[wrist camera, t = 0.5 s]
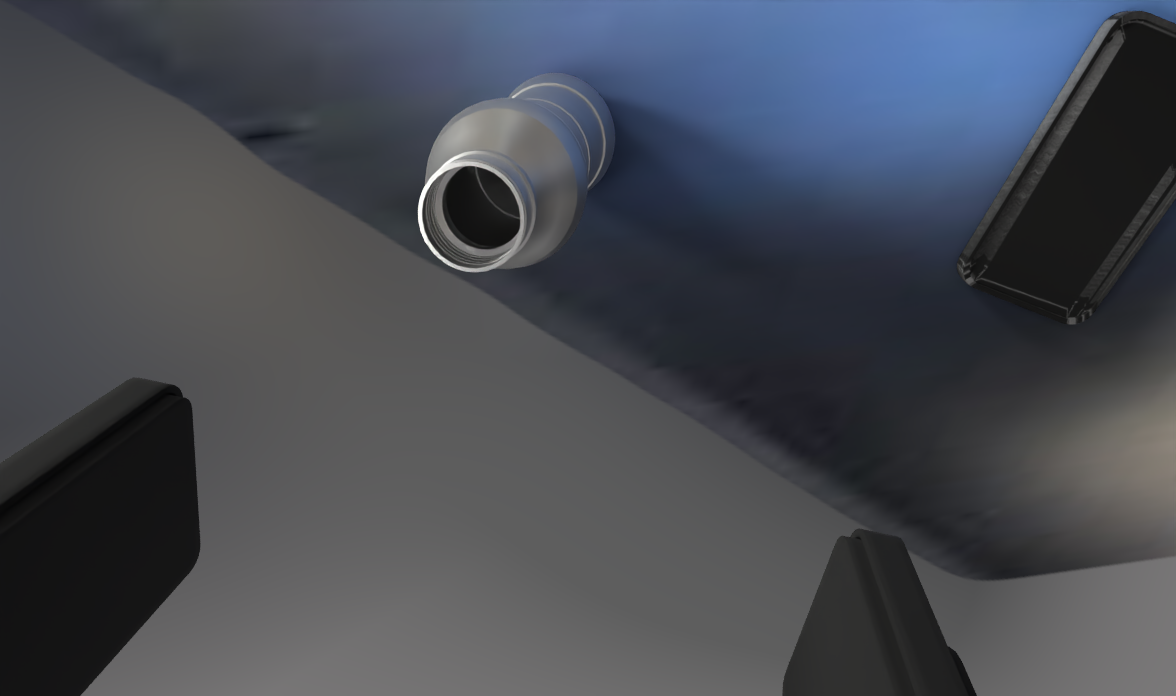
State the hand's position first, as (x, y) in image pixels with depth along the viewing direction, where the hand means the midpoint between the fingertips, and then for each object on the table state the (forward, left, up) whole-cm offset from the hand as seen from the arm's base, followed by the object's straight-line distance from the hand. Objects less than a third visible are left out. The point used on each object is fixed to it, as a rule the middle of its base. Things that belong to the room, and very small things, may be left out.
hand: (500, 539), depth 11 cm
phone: (+11, +22, -35) cm, 43 cm away
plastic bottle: (-3, -3, -35) cm, 35 cm away
